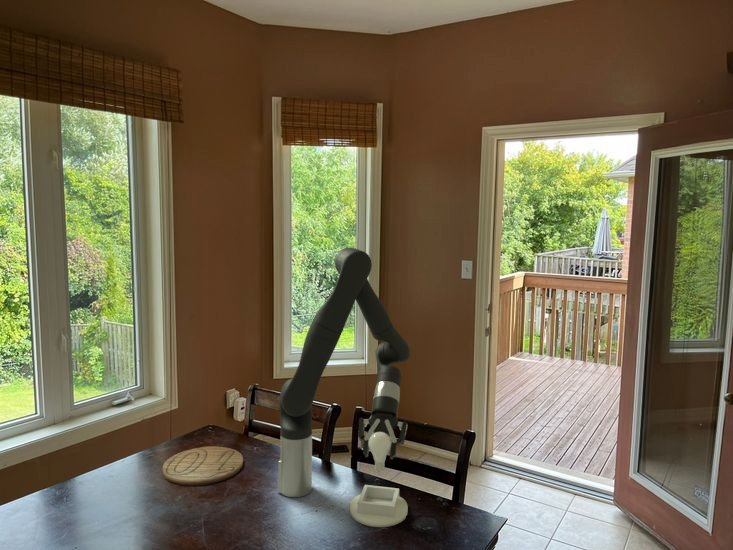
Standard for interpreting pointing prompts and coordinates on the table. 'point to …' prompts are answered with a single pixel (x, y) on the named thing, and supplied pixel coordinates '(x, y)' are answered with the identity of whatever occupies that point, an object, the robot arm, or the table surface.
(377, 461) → the lightbulb
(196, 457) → the trivet
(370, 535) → the table surface
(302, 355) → the robot arm
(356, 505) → the lamp base
